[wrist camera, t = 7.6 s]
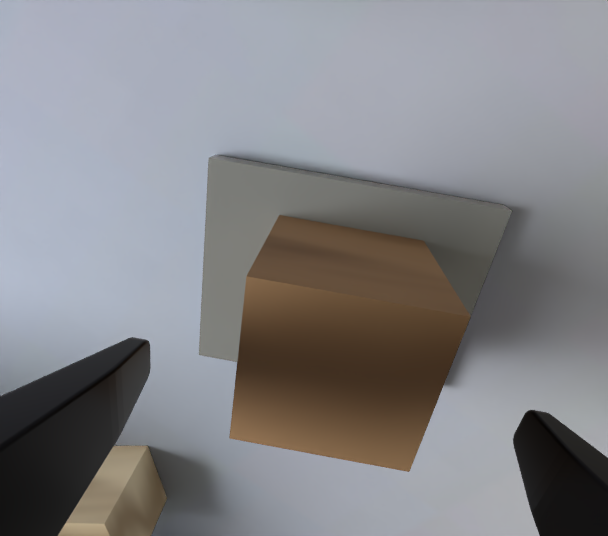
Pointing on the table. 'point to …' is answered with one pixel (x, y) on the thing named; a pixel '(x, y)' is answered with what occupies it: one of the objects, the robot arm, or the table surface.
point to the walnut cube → (344, 343)
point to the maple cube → (120, 497)
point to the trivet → (332, 210)
